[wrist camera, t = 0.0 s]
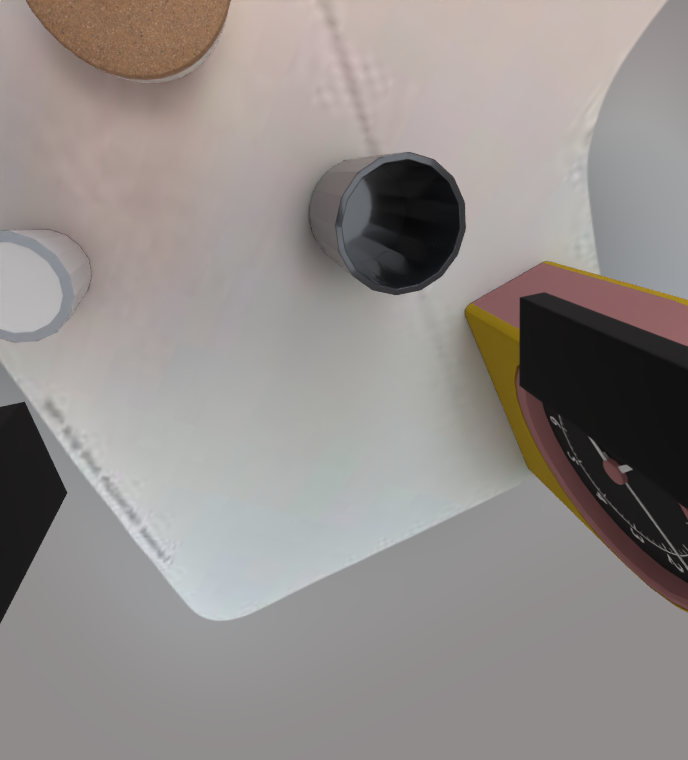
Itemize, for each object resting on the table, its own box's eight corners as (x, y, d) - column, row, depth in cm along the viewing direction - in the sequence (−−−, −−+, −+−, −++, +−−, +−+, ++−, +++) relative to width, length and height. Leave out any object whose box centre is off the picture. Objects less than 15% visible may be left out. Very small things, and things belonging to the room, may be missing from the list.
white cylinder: (115, 301, 38) (92, 327, 32) (23, 324, 37) (-19, 355, 31) (77, 209, 35) (43, 217, 29) (-24, 232, 34) (-81, 245, 28)
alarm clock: (462, 308, 44) (733, 466, 20) (551, 257, 44) (927, 357, 20) (529, 472, 53) (771, 714, 29) (603, 430, 53) (905, 639, 29)
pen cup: (300, 167, 37) (325, 165, 27) (401, 150, 38) (462, 142, 28) (318, 272, 40) (346, 305, 30) (411, 254, 41) (468, 280, 31)
